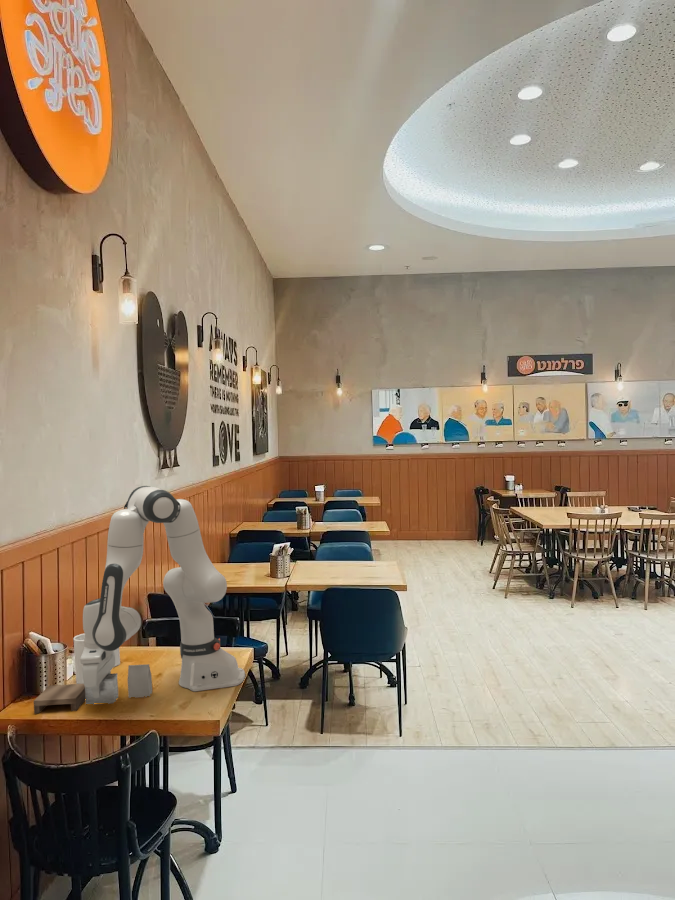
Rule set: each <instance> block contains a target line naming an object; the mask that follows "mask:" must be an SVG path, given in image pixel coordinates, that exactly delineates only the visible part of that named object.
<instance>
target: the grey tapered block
mask: <svg viewBox="0 0 675 900" xmlns="http://www.w3.org/2000/svg"><path fill="white" fill-rule="evenodd" d="M152 678H153V677H152V672H151V667H150V664H132V665H131V664H130V665H128V670H127V693H128V698H129V699H131V697H135V698H148V697H147V696H149V697H151V695H152V694H153V681H152V680H153V679H152ZM150 694H151V695H150ZM144 696H145V697H144Z"/></svg>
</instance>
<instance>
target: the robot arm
mask: <svg viewBox="0 0 675 900" xmlns="http://www.w3.org/2000/svg"><path fill="white" fill-rule="evenodd" d="M123 506H124V507H123V509H119V510H117V511H115V512H114V513H113V514H112V515H111V516H110V517H111V518H110V522H109V526H108V532H107V542H106V543H107V545H106V546H107V547H106V557H105V558H106V559H105V566H104V571H103V576H102V582H101V590H100V597H99V598H95V599H93V600H91V601H89V602H87V603H86V604H85V605H84V606H83V609H82V630H83V632H84V633H85V639H84V650H83V653H82V655H81V658H80V662H81V664H83V667H82V672H83V681H84V686H85V688H87V689H88V688H91V690H92V692H93V697H94V698H98V697H99V696H100V690H99V684H100V683H101V681H102V680H103V679H104V678H105V677H106V675H107V674H112V673H111V672H112V670H113V668H115V667H116V666H115V653H114V650H116V649H118V648H119V649H120V647H121V646H122V645H123V644H124V643H125V642H126V641H128V640H129V639H131V638H132V636H133V637H134V635H136V633H137V632H138V631H140V629H141V628H142V627H141V626H142V617H141V614H140V612H139V611H138V610H137V609H135V608H133V607H131V606H130V607H129V606H123V605H122V601H123V594H124V589H125V586H126V584H127V582H128V580H129V579H130V578H131V576H132V575H133V574H134V573H135V572H136V570H137V569H138V568H139V567H140V565H141V563H142V559H143V556H144V544H145V543H144V541H145V539H144V538H145V536H144V533H145V530H146V527H147V525H148V524H149V522H152V523H155V524H163V527H164V529H165V535H166V538H167V539H166V540H167V543H168V547H169V548H168V549H169V552H170V556H171V558H172V559H173V561H174V562H176V563H177V564H178V565H179V566H178V567H173V568H171V569H169V570H168V571H167V572H166V573H165V575H164V578H163V583H162V584H163V585H162V586H163V590H164V591H165V593H166V594H167V595H168V596H169V597H170V599H171V600H172V603H173V605H174V606H175V609H176V613H177V615H178V619H179V628H180V639H181V641H180V642H179V643H180V645H179V650H180V654H179V655H180V658H181V668H180V674H179V679H178V684H179V686H180V687H182V688H185V689H189V690H190V691H191V692H201V691H207V690H215V689H221V688H222V689H223V688H229V687H235V686H239V685H241V683H242V682H244V680H245V678H246V672H245V669H244V668H241V667H239V665H238V661H237V658H236V657H235V656H234V655H232V654H231V653H229V652H228V651H226V650H224V649H223V648H221V638H220V637H219V638H216V637H215V631H214V630H215V629H214V618H213V617H214V616H213V615H212V613H211V611H210V610H209V609H208V608H207V606H206V605H205V604H207V603H216V602H219V601H221V600H222V599H223V598H224V597H225V595H226V593H227V589H228V583H227V579H226V577H225V576H224V575H223V574H222V573H221V572H220V571H219V570H218V569H217V568H216V567H215V565H214V564H213V563H212V560H211V559H210V557H209V556H208V554H207V551H206V548H205V546H204V542H203V537H202V534H201V533H202V532H201V529H200V526H199V521H198V518H197V515H196V512H195V509H194V507H193V505H192V503H191V502H190V501H189V500H187V499H184V498H183V499H182V498H177V499H176V498H175V497H174V495H173V494H171V493H170V492H169V491H168V490H165V489H162V488H159V487H157V486H149V485H142V486H138V487H136V488H134V489H133V490H132V491H131V492H130V494H129V496H128V499H127V501H126V502H125V504H124V505H123ZM84 633H83V634H84ZM114 666H115V667H114Z"/></svg>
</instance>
